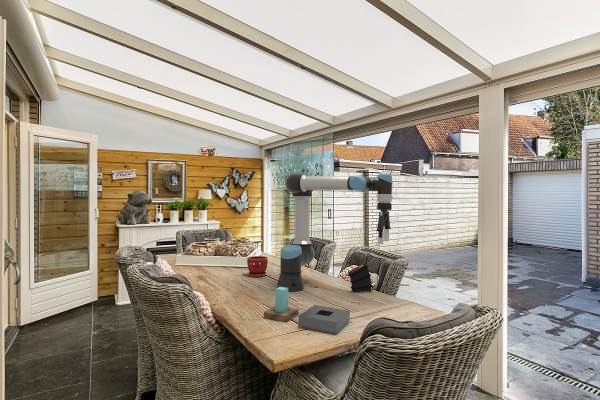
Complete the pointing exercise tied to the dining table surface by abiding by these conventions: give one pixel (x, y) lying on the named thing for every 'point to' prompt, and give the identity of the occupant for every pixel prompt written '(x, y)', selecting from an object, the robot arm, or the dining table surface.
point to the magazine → (360, 278)
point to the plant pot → (257, 266)
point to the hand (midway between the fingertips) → (383, 242)
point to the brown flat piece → (281, 314)
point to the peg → (281, 300)
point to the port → (324, 319)
